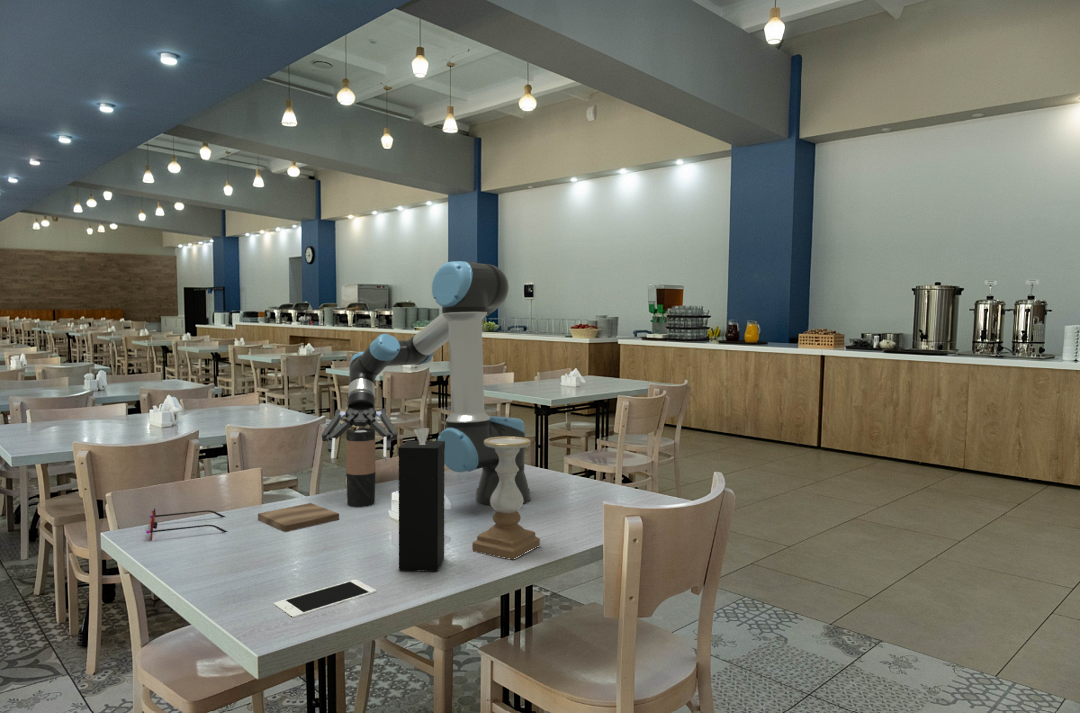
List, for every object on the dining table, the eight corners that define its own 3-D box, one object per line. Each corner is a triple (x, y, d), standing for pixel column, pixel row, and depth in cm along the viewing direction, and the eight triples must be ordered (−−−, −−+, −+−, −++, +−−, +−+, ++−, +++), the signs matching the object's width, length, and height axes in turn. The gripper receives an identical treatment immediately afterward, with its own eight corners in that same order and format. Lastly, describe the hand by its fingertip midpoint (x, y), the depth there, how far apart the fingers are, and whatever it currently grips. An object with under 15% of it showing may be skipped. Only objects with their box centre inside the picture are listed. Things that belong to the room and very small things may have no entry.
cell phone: (272, 606, 120) (272, 602, 120) (355, 582, 131) (355, 578, 131) (292, 620, 114) (292, 616, 114) (377, 593, 126) (377, 590, 126)
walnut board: (339, 519, 170) (339, 513, 170) (285, 531, 160) (285, 525, 160) (310, 508, 180) (310, 502, 180) (258, 519, 170) (258, 513, 170)
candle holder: (513, 560, 142) (513, 446, 141) (471, 550, 148) (471, 441, 147) (541, 546, 152) (542, 439, 150) (500, 537, 158) (501, 434, 156)
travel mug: (371, 507, 181) (371, 432, 180) (342, 507, 182) (342, 432, 180) (378, 500, 189) (378, 427, 188) (351, 499, 189) (350, 427, 188)
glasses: (150, 526, 164) (149, 506, 164) (225, 518, 172) (225, 498, 172) (146, 544, 152) (145, 521, 152) (228, 534, 159) (227, 513, 159)
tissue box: (407, 557, 144) (407, 424, 142) (444, 558, 143) (445, 425, 142) (398, 571, 136) (398, 430, 134) (437, 572, 135) (438, 431, 134)
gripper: (405, 405, 204) (405, 466, 191) (317, 406, 199) (311, 469, 186) (405, 389, 199) (406, 450, 185) (315, 390, 194) (309, 453, 180)
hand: (359, 460), depth 185 cm, fingers open, 13 cm apart
